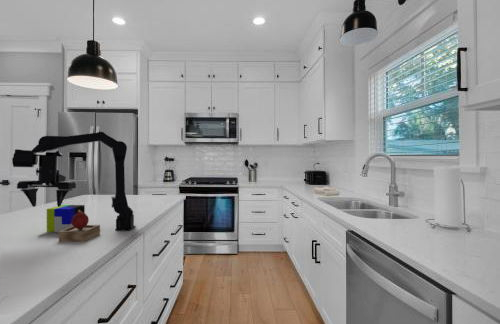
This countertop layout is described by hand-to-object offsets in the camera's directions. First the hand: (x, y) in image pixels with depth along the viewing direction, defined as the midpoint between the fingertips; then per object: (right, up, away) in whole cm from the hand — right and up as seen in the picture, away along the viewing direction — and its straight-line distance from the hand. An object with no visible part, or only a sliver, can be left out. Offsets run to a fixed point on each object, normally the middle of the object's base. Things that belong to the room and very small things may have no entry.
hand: (46, 206), depth 102 cm
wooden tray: (+13, -13, +1) cm, 18 cm away
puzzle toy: (-2, -13, +14) cm, 19 cm away
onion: (+13, -10, +2) cm, 16 cm away
